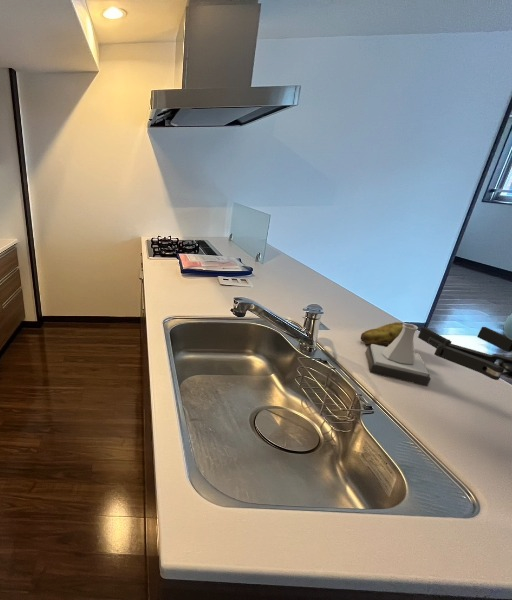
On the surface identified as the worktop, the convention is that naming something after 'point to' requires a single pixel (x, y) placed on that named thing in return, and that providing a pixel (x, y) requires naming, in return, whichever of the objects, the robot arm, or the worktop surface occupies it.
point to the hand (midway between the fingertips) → (451, 332)
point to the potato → (382, 334)
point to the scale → (397, 367)
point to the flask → (402, 346)
